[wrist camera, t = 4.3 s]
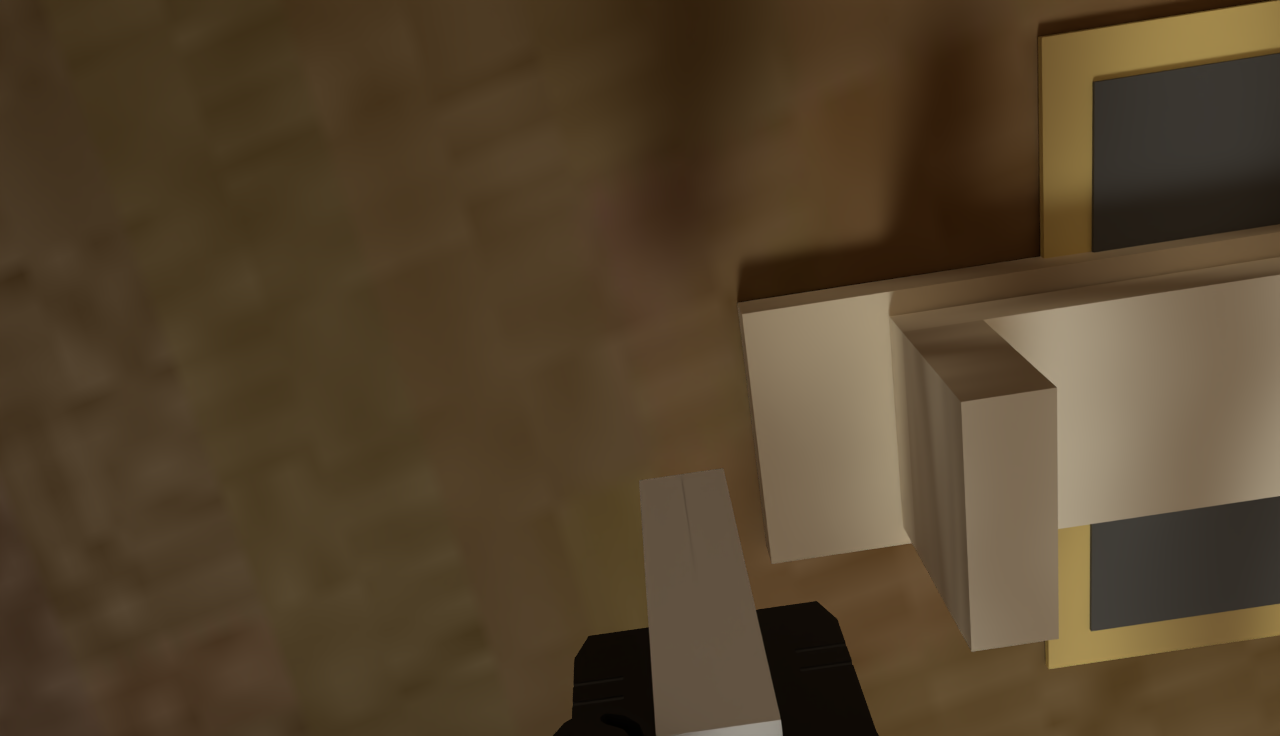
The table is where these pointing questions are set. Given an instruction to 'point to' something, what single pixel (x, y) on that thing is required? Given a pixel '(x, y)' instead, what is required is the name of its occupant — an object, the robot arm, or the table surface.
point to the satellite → (1070, 258)
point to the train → (1078, 426)
